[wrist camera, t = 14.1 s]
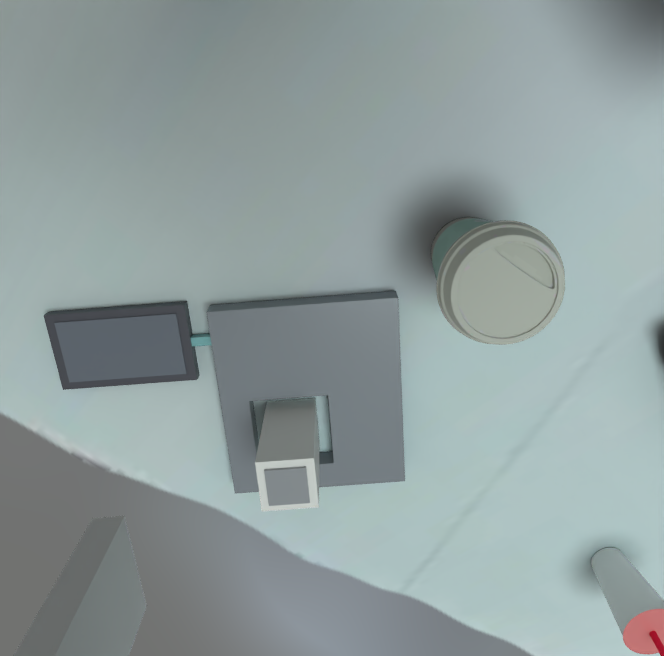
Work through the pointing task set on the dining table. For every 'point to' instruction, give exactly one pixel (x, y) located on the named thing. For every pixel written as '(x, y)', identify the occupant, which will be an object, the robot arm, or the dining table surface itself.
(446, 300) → the coffee cup
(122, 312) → the phone
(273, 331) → the socket plate
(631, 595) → the cup
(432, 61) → the dining table surface
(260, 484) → the block
